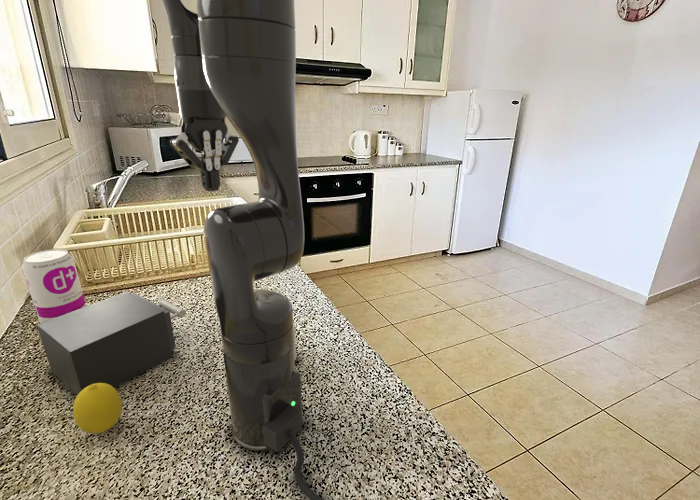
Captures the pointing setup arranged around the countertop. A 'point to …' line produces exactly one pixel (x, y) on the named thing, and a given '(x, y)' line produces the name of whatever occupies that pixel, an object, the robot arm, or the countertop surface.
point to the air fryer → (106, 341)
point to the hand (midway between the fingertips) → (212, 190)
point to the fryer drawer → (168, 315)
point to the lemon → (97, 408)
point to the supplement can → (53, 283)
